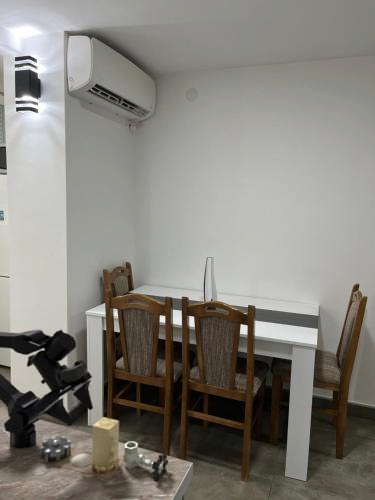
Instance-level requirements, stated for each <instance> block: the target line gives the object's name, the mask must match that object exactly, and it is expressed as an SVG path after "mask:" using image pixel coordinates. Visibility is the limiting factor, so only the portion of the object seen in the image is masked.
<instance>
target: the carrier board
mask: <svg viewBox="0 0 375 500" xmlns="http://www.w3.org/2000/svg"><path fill="white" fill-rule="evenodd" d="M32 461H35V462H40V463H43V464H47V465H50V466H54V467H55V466H56V467H60V468H64V469H67V470H71V471H76V472H79V473H82V474H88V475H91V476H92V475H93V476H96V477H100V478H102V479H103V478H104V479H108V480H111V478H112V477H113V476H114V475H115V473H116V472H117V470H118V469H119V468H120V466H122V464H123V463H124V460H123V458H119V457H118V464H117V469H116V470H113V471H111V472H110V474H106V473H100V474H97V472H96V471H95V470H92V451H87V450H84V449H80V448H74V447H71V451H70V452H69V457H68V458H64V459H62V460H60V462H57V463H56V461H55V462H49V463H47V462H45V460H44V459H43V458H42V459H41V458H40V453H38V454H37V455H36V456H35V457H34V458H33V459H32Z"/></svg>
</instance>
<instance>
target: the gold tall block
mask: <svg viewBox="0 0 375 500" xmlns="http://www.w3.org/2000/svg"><path fill="white" fill-rule="evenodd" d="M119 433H120V420H117V419H113V418H109V417H104V416H103V417H102V418H100V419H99V420H98V421H97V422H95V423H94V424H93V426H92V446H91V447H92V448H91V452H92V470H95V471H96V472H97V474H100V473H106V474H110V472H111V471H113V470H116V469H117V464H118V458H119V438H120V434H119ZM117 470H118V469H117Z"/></svg>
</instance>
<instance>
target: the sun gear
mask: <svg viewBox="0 0 375 500" xmlns="http://www.w3.org/2000/svg"><path fill="white" fill-rule="evenodd" d="M41 443H42V445H41V446H40V447H39V449H40V451H39V454H40V458H41V459H42V458H43V459H44V460H45V462H47V463H49V462H55V461H56V463H57V462H60V460H62V459H64V458H68V457H69V452H70V451H71V448H72V447H71V445H72V443H71V439H67V437H66V436H60V437H56V436H51V438H49V439H47V440H45V439H44V440H43V441H42V442H41ZM47 463H46V464H47Z"/></svg>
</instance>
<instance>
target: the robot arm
mask: <svg viewBox="0 0 375 500" xmlns="http://www.w3.org/2000/svg"><path fill="white" fill-rule="evenodd" d="M76 347H77V342H76V339H75V338H74V336H72V335H70V334H69V333H68V332H64V331H63V330H62V329H59V330H57V331H56V332H54V333H53V335H52V336H51V335H49V334H46V333H44V332H43V330H41V329H34V330H33V329H32V330H28V331H23V332H5V331H0V348H1V349H11V350H13V352H15V353H17V354H20V355H24V356H27V355H28V357H27V358H28V359H27V362H26V367H28V368H29V367H31V366H34V367H35V368H36V371H37V372H38V373H39V375H40V376H41V377H42V378H41V379H42V380H41V381H40V383H41V384H42V385H44V384H46V385H47V386H48V388H49V390H50V391H49V392H48V393H45V394H44V395H43V396H42V397H41V398H40V397H38V395H36V394H35V393H34V392H33V391H32V390H28V391H27V392H25V393H24V392H22V391H20V390H18V388H17V387H15V386H14V384H12V382H10V381H9V380H8V379H7V378H6V377H5V376H3V374H2V373H0V401H1V402H2V403H3V404H4V405H5V406H6V409H7V414H8V417H9V418H8V419H7V420H6V421H5V422H4V424H3V426H4V430H5V432H7V433H9V444H10V445H11V446H12V447H13V448H14V449H19V450H20V449H29V448H30V449H31V448H32V447H33V446H35V445H36V444H37V431H36V424H35V423H36V422H39V421H40V418H41V417H42V415H48V416H49V417H52V418H55V419H57V420H59V421H61V422H62V423H64V424H66V425H68V426H72V425H73V424H74V421H73V419H72V417H71V416H70V413H69V411H67V409H66V407H65V406H64V397H63V396H64V395H66V394H67V393H69V392H70V391H72V392H73V393H72V395H73V396H74V397H75V398H76V399H77V400H78V401H79V402H80V403H81V404H82V405H83V406H85V408H87V409H88V410H89V411H91V410H93V409H94V407H93V403H92V400H91V396H90V391H89V387H90V383H91V381H92V378H93V376H92V374H91V373H90V371H86V370H87V369H88V366H87V365H86V363H85V361H84V360H83V359H78V360H77V361H74V365H72V366H71V367H68V366H67V365H66V364H62V365H61V363H60V361H63V359H65V358H66V357H67V356H68V355H69V354H70V353H72V352H73V351H74V350H75V349H76ZM33 353H35V354H33ZM61 397H62V398H61Z"/></svg>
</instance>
